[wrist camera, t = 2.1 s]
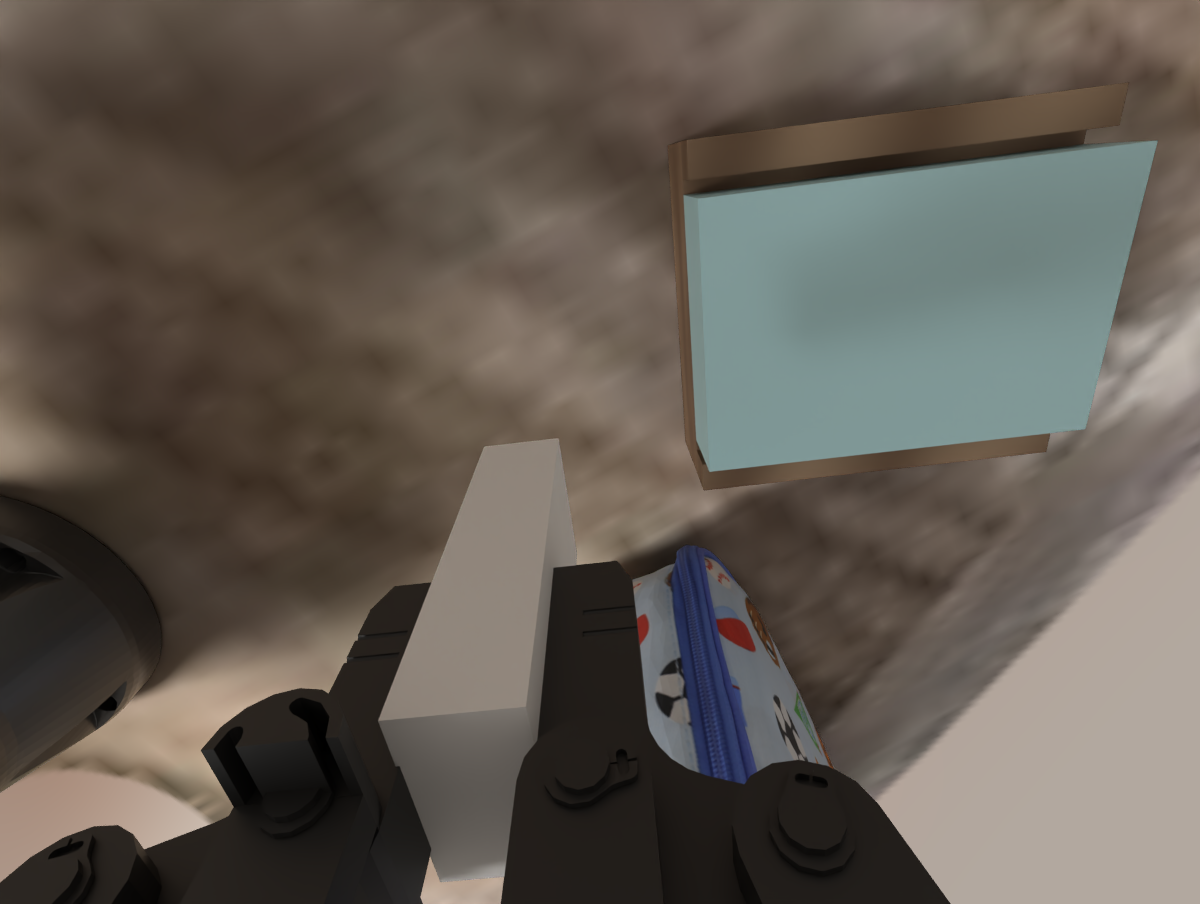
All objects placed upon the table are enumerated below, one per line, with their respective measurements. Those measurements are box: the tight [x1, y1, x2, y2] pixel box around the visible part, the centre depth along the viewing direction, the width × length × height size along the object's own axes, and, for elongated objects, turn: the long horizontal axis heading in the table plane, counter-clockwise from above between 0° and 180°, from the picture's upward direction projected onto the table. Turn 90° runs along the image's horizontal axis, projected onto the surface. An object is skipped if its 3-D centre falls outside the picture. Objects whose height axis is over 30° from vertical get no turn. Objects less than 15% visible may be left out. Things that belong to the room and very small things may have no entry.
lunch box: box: [632, 545, 833, 784], centre depth 27 cm, size 28×10×22 cm, turn 30°
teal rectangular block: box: [683, 140, 1158, 472], centre depth 22 cm, size 14×10×3 cm
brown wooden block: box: [668, 82, 1129, 490], centre depth 24 cm, size 14×13×5 cm
